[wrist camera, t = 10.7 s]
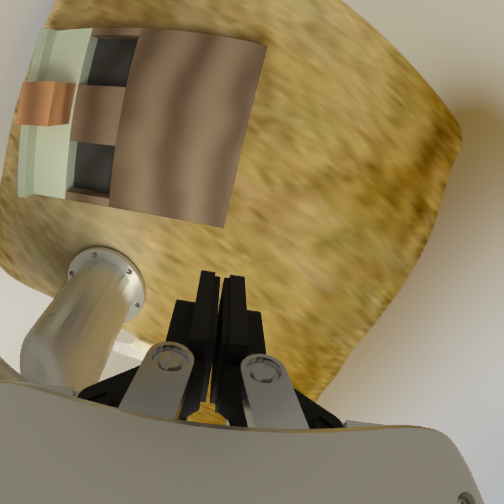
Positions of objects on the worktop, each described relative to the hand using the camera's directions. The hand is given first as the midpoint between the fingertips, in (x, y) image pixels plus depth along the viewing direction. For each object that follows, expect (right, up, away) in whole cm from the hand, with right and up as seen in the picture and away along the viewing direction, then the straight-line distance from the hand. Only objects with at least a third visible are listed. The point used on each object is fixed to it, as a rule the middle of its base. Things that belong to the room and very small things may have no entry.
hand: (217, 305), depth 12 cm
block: (-22, +20, +16) cm, 34 cm away
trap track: (-10, +18, +21) cm, 29 cm away
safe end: (-23, +20, +19) cm, 36 cm away
